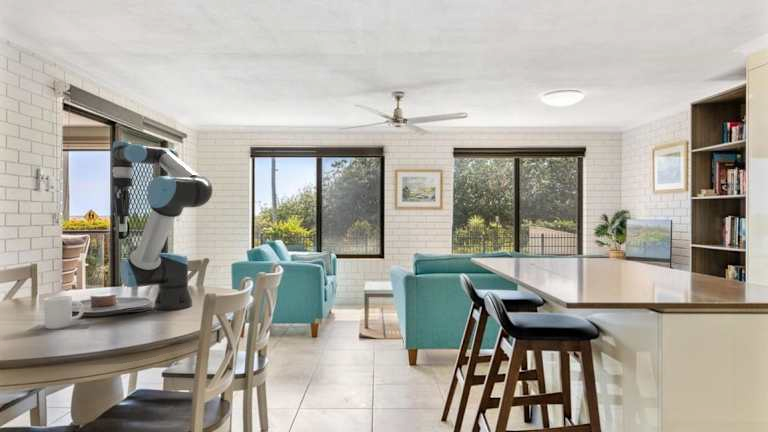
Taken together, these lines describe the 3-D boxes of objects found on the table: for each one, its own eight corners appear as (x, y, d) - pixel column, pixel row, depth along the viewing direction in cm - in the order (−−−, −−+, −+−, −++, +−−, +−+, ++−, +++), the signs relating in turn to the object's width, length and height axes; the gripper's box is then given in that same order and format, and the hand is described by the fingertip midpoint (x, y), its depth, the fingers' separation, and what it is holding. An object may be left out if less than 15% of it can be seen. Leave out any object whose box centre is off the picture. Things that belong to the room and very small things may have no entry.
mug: (84, 321, 180) (83, 294, 180) (84, 326, 173) (83, 297, 173) (45, 325, 174) (44, 297, 173) (43, 330, 167) (43, 301, 166)
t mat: (101, 320, 183) (101, 319, 183) (86, 329, 170) (86, 328, 170) (46, 322, 180) (46, 321, 180) (26, 332, 166) (26, 330, 166)
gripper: (118, 178, 213) (118, 230, 214) (107, 176, 200) (108, 232, 201) (136, 178, 215) (136, 230, 215) (127, 176, 202) (127, 232, 202)
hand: (122, 231), depth 208 cm, fingers closed
